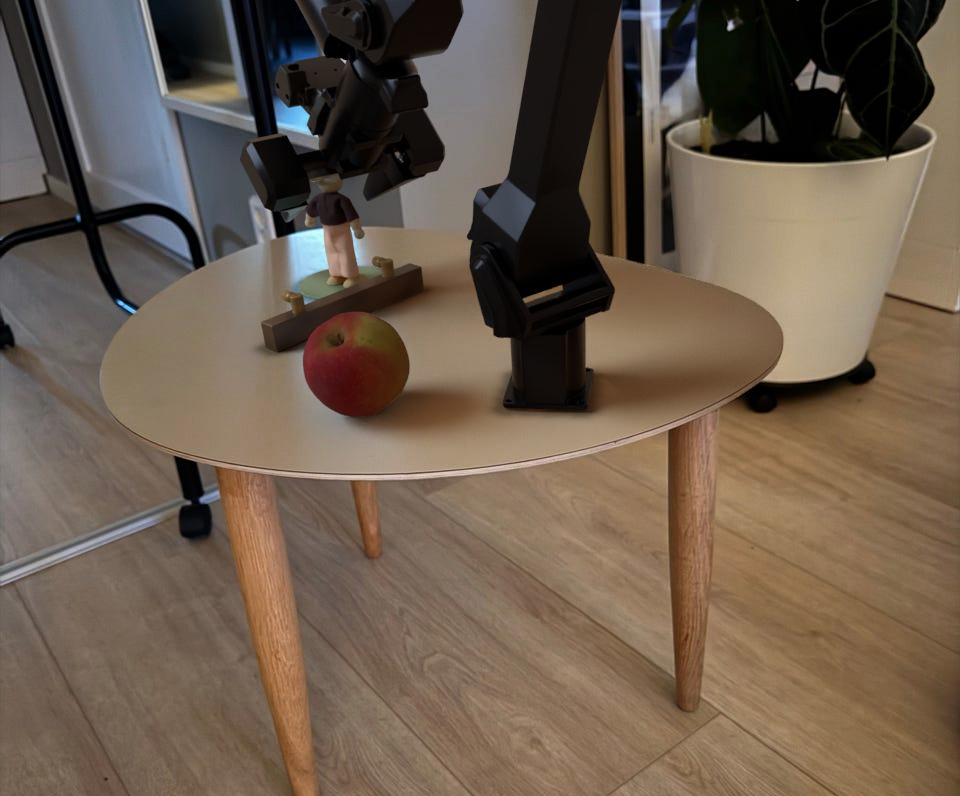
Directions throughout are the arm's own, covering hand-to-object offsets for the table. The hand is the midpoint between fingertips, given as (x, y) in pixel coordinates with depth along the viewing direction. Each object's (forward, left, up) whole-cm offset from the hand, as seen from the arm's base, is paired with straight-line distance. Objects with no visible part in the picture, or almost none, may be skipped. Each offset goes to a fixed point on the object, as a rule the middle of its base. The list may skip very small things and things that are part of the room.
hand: (326, 207), depth 94 cm
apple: (-28, -11, -8) cm, 31 cm away
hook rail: (-6, 0, -8) cm, 10 cm away
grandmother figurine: (-1, -1, -8) cm, 8 cm away
